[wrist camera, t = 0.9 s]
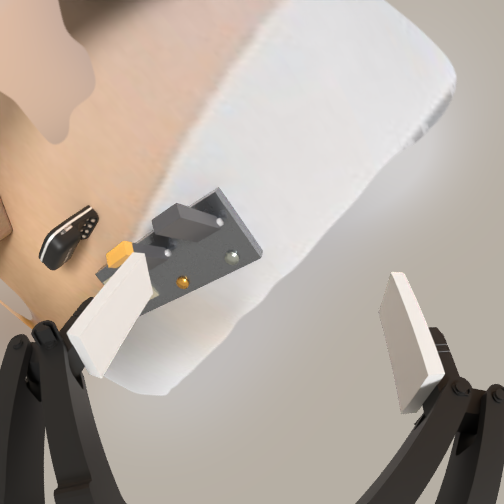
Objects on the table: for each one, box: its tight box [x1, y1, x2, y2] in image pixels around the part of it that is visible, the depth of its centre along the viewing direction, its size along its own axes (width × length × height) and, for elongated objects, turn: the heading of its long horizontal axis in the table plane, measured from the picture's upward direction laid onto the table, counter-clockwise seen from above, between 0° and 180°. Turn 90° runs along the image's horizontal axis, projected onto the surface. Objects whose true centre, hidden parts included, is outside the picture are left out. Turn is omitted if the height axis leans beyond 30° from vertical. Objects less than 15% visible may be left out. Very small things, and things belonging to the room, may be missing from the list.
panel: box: [95, 187, 263, 316], centre depth 45 cm, size 11×28×2 cm, turn 123°
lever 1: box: [106, 241, 171, 270], centre depth 39 cm, size 2×5×8 cm
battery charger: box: [39, 205, 99, 270], centre depth 40 cm, size 7×4×11 cm, turn 135°
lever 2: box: [152, 203, 224, 242], centre depth 35 cm, size 2×5×8 cm
